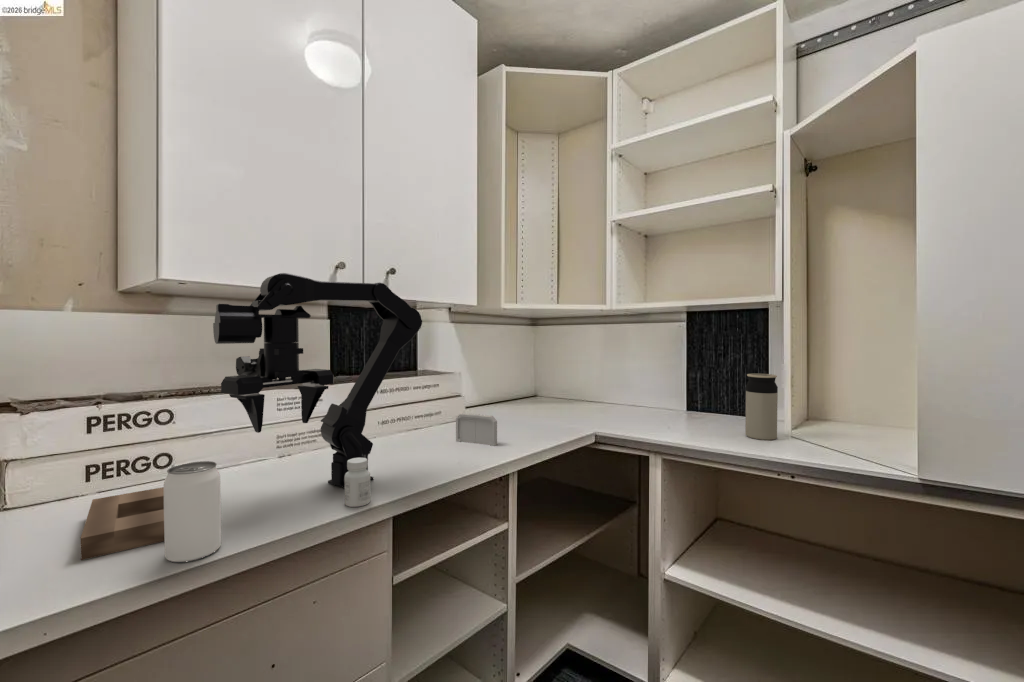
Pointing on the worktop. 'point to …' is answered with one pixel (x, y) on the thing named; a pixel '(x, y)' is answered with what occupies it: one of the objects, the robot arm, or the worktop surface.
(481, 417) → the gray double door
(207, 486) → the can
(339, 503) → the worktop surface
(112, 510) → the socket block
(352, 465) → the pill bottle
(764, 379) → the travel mug
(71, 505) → the worktop surface
